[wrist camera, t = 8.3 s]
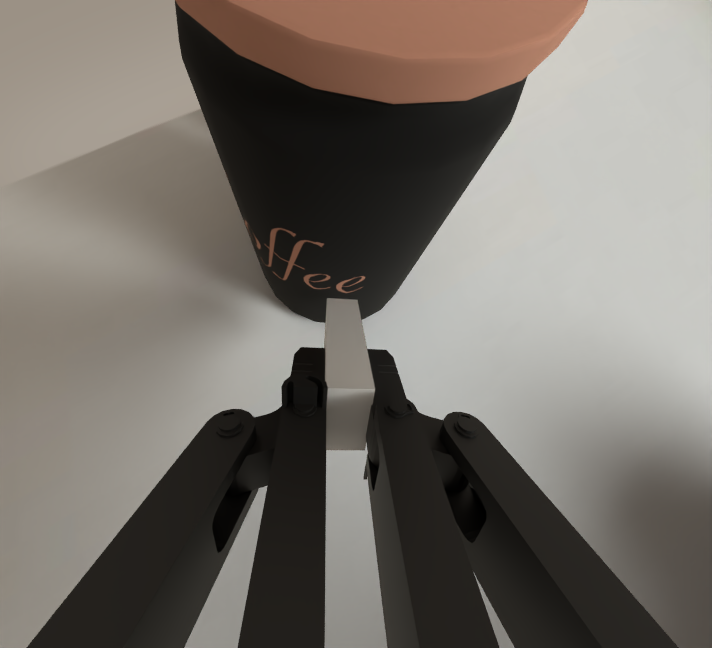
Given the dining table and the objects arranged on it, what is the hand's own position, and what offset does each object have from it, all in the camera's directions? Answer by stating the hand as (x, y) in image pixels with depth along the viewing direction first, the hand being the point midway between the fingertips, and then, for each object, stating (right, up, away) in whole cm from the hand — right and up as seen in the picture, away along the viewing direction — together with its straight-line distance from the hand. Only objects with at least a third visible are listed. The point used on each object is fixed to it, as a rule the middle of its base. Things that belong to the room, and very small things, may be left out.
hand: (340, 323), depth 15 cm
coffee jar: (-1, +5, +9) cm, 10 cm away
